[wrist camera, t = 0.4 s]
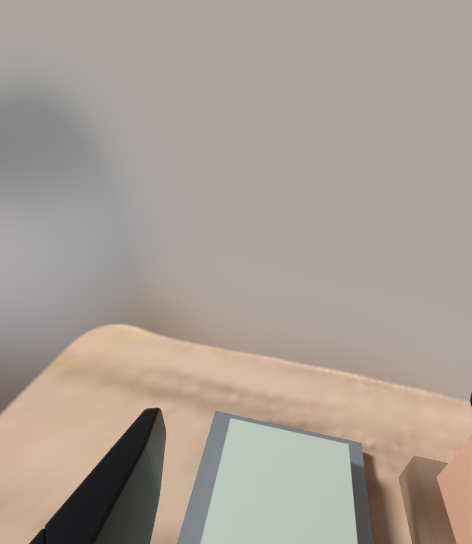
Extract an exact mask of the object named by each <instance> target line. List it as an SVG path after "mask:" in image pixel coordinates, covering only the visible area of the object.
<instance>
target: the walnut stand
mask: <svg viewBox="0 0 472 544" xmlns="http://www.w3.org/2000/svg"><path fill="white" fill-rule="evenodd" d="M447 464H448V463H445V462H440V461H436V460H431V459H426V458H422V457H417V456H413V458H412V459H411V461H410V462H409V464H408V465H407V466H406V468H405V469H404V471H403V472H402V474H401V475H400V477H399V481H400V486H401V490H402V495H403V500H404V505H405V510H406V514H407V519H408V524H409V529H410V534H411V539H412V543H413V544H457V543H456V540H455V537H454V533H453V530H452V527H451V523H450V520H449V517H448V513H447V510H446V507H445V503H444V500H443V497H442V493H441V490H440V487H439V483H438V480H437V476H438V475H439V474H440V473H441V471H442V470H443V469H444V468H445V467H446V465H447Z"/></svg>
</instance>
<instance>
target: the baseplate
mask: <svg viewBox="0 0 472 544" xmlns="http://www.w3.org/2000/svg"><path fill="white" fill-rule="evenodd" d="M231 418H232V419H237V420H241V421H246V422H251V423H255V424H260V425H264V426H269V427H273V428H278V429H282V430H287V431H291V432H296V433H300V434H305V435H309V436H314V437H318V438H323V439H327V440H332V441H336V442H341V443H345V444H349V455H350V466H351V477H352V488H353V499H354V510H355V521H356V532H357V543H358V544H374V539H373V531H372V523H371V515H370V507H369V499H368V491H367V483H366V475H365V467H364V460H363V452H362V444H361V443H359V442H354V441H350V440H345V439H341V438H336V437H332V436H327V435H322V434H318V433H313V432H309V431H304V430H300V429H295V428H291V427H286V426H281V425H277V424H272V423H268V422H263V421H259V420H254V419H250V418H245V417H240V416H236V415H231V414H227V413H222V412H218V411H215V414H214V418H213V421H212V425H211V428H210V432H209V435H208V439H207V442H206V445H205V449H204V452H203V456H202V459H201V463H200V466H199V470H198V473H197V477H196V480H195V483H194V487H193V490H192V494H191V497H190V501H189V504H188V508H187V511H186V514H185V518H184V521H183V525H182V528H181V532H180V535H179V539H178V542H177V544H200V543H201V539H202V535H203V531H204V527H205V523H206V518H207V514H208V510H209V506H210V502H211V498H212V493H213V489H214V485H215V481H216V477H217V473H218V468H219V464H220V460H221V456H222V452H223V448H224V443H225V439H226V435H227V431H228V427H229V423H230V419H231Z"/></svg>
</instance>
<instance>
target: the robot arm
mask: <svg viewBox="0 0 472 544" xmlns="http://www.w3.org/2000/svg"><path fill="white" fill-rule="evenodd" d="M470 402H471V406H472V393H471V397H470ZM165 441H166V428H165V424H164V420H163V416H162V411H161V409H160V408H148V409H145V410H144V411H143V412H142V413H141V415H140V416H139V417H138V418H137V419H136V420H135V422H134V423H133V424H132V425H131V426H130V427H129V429H128V430H127V431H126V432H125V433H124V434H123V435H122V437H121V438H120V439H119V440H118V441H117V442H116V444H115V445H114V446H113V447H112V448H111V449H110V451H109V452H108V453H107V454H106V455H105V456H104V458H103V459H102V460H101V461H100V462H99V463H98V465H97V466H96V467H95V468H94V469H93V470H92V471H91V473H90V474H89V475H88V476H87V477H86V478H85V480H84V481H83V482H82V483H81V484H80V485H79V487H78V488H77V489H76V490H75V491H74V492H73V494H72V495H71V496H70V497H69V498H68V499H67V501H66V502H65V503H64V504H63V505H62V506H61V508H60V509H59V510H58V511H57V512H56V513H55V514H54V516H53V517H52V518H51V519H50V520H49V521H48V523H47V524H46V525H45V529H41V531H40V532H39V533H38V534H37V535H36V536H35V538H34V539H33V540H32V541H31V542H30V543H29V544H150V541H151V536H152V531H153V527H154V522H155V517H156V512H157V507H158V502H159V496H160V489H161V480H162V470H163V460H164V451H165Z"/></svg>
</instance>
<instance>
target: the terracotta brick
mask: <svg viewBox="0 0 472 544" xmlns="http://www.w3.org/2000/svg"><path fill="white" fill-rule="evenodd" d="M437 480H438V483H439V487H440V490H441V493H442V497H443V500H444V503H445V507H446V510H447V513H448V517H449V520H450V523H451V527H452V530H453V533H454V537H455V540H456V543H457V544H472V436H471V437H470V438H469V439H468V440H467V442H466V443H465V444H464V445H463V446H462V448H461V449H460V450H459V451H458V452H457V453H456V455H455V456H454V457H453V458H452V459H451V461H450V462H449V463H448V464H447V465H446V467H445V468H444V469H443V470H442V471H441V473H440V474H439V475H438V476H437Z"/></svg>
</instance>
